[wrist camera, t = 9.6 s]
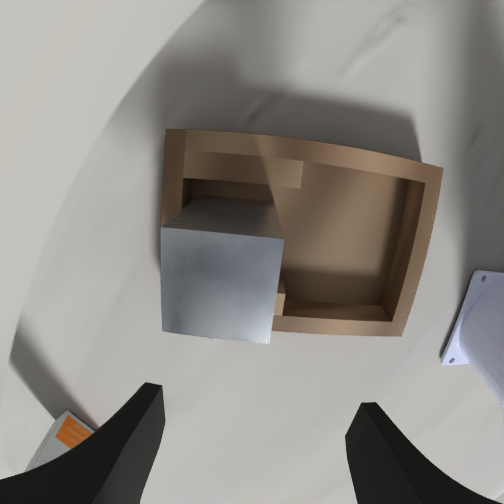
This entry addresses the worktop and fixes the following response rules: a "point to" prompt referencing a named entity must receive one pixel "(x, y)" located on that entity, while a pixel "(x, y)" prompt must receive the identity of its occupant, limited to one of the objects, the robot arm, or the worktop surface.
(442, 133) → the worktop surface
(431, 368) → the worktop surface
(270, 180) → the wooden tray
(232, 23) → the worktop surface
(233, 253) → the metal peg
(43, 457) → the skincare box
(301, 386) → the worktop surface
